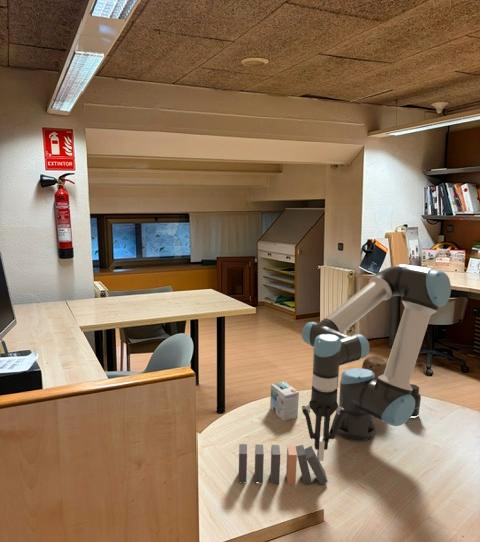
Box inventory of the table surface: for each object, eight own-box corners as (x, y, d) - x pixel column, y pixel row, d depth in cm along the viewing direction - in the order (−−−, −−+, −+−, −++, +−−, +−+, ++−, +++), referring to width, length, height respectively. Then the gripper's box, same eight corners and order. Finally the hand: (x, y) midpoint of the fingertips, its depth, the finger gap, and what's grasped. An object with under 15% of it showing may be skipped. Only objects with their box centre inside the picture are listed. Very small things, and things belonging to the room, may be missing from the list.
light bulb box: (269, 408, 183) (270, 383, 181) (283, 405, 186) (284, 380, 184) (283, 421, 174) (284, 395, 172) (298, 417, 177) (299, 392, 175)
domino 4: (293, 473, 143) (295, 445, 141) (295, 484, 138) (296, 455, 136) (286, 473, 143) (287, 445, 141) (287, 484, 138) (288, 454, 136)
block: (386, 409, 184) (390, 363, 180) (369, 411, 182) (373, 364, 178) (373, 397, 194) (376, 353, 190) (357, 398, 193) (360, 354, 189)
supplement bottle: (416, 420, 176) (419, 392, 173) (398, 415, 179) (401, 387, 177) (420, 413, 182) (423, 385, 179) (402, 408, 185) (405, 381, 183)
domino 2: (262, 473, 143) (263, 444, 141) (262, 483, 138) (263, 454, 136) (254, 473, 143) (255, 444, 141) (254, 483, 138) (255, 454, 136)
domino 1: (246, 472, 143) (247, 444, 141) (246, 483, 138) (247, 453, 136) (238, 472, 143) (239, 444, 141) (238, 483, 138) (239, 453, 136)
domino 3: (278, 473, 143) (279, 445, 141) (279, 484, 138) (280, 454, 136) (270, 473, 143) (271, 444, 141) (271, 483, 138) (272, 454, 136)
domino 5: (309, 472, 143) (303, 444, 141) (311, 483, 138) (305, 454, 136) (302, 474, 143) (295, 446, 141) (304, 484, 138) (297, 456, 136)
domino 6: (325, 471, 143) (311, 445, 141) (327, 481, 138) (313, 455, 136) (318, 474, 143) (304, 449, 141) (320, 485, 138) (306, 458, 136)
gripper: (344, 381, 138) (339, 451, 143) (301, 380, 138) (297, 450, 143) (349, 393, 131) (344, 466, 135) (304, 392, 131) (300, 465, 135)
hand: (320, 458), depth 139 cm, fingers closed
